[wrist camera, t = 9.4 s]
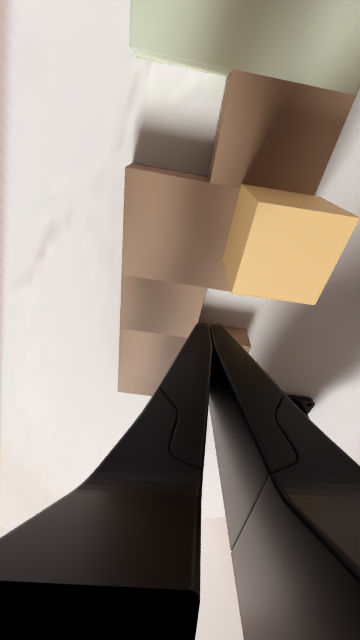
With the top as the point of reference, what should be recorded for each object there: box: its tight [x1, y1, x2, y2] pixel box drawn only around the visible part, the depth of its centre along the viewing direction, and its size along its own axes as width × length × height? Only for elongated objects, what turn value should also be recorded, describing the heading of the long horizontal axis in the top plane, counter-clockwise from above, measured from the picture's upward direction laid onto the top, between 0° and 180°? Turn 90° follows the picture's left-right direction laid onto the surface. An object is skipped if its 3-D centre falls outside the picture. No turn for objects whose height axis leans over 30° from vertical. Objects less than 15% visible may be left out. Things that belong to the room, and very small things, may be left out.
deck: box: [118, 0, 360, 396], centre depth 15 cm, size 10×27×3 cm, turn 171°
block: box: [223, 184, 360, 305], centre depth 13 cm, size 4×4×4 cm
